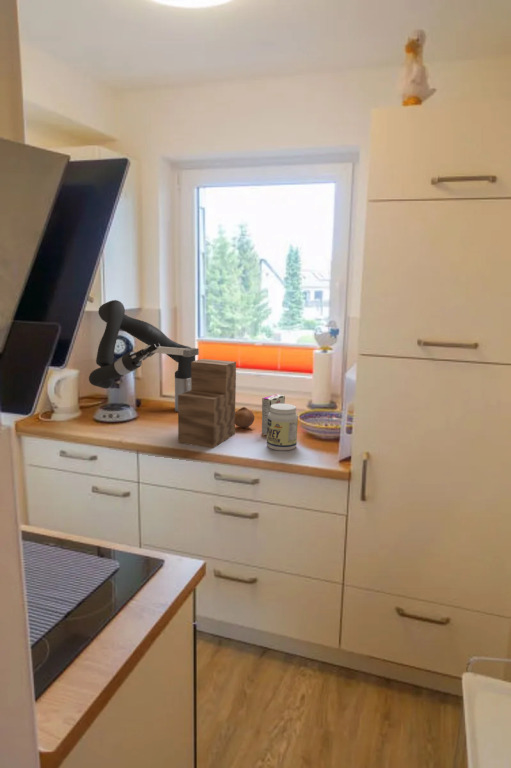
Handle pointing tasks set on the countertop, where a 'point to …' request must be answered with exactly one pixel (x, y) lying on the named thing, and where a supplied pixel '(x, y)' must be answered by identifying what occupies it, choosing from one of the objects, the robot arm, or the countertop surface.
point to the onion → (244, 417)
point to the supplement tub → (282, 427)
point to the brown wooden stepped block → (208, 404)
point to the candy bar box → (266, 408)
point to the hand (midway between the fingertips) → (157, 345)
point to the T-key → (176, 351)
